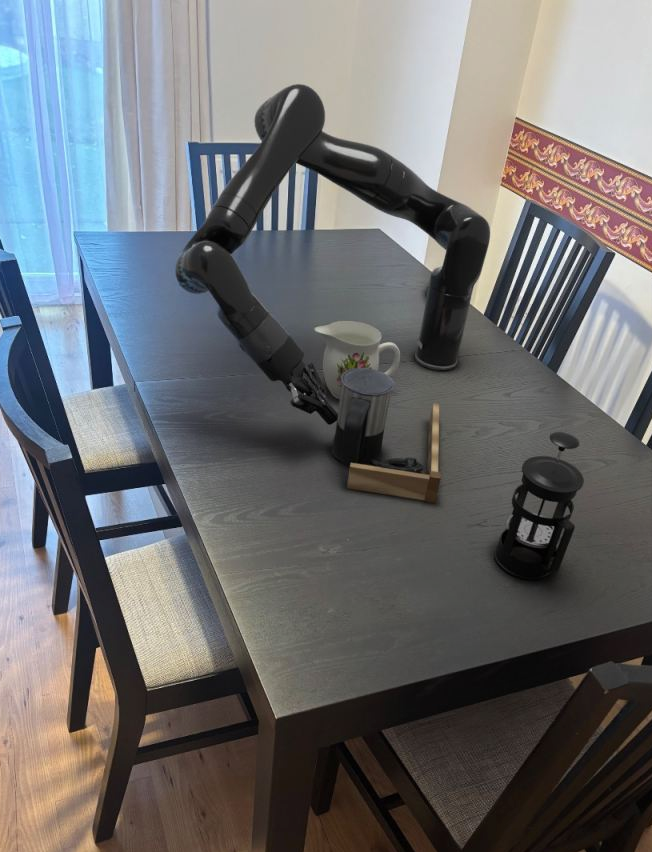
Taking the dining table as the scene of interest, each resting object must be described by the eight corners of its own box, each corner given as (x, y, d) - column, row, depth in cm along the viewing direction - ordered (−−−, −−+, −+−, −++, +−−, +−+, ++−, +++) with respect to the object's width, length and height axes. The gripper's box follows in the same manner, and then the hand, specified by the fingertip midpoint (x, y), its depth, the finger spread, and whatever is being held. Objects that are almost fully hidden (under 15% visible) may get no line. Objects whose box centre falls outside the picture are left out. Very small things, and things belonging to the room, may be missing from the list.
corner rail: (360, 412, 153) (363, 389, 150) (436, 424, 153) (441, 401, 150) (346, 489, 133) (350, 464, 130) (434, 503, 133) (440, 478, 130)
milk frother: (329, 436, 145) (338, 365, 136) (413, 442, 147) (427, 371, 138) (334, 482, 134) (344, 407, 125) (424, 487, 136) (441, 414, 127)
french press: (479, 545, 125) (515, 423, 111) (525, 533, 129) (566, 413, 115) (524, 594, 117) (569, 469, 103) (571, 579, 121) (621, 456, 107)
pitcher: (401, 406, 157) (412, 343, 149) (313, 407, 153) (320, 342, 144) (386, 379, 165) (397, 318, 157) (302, 379, 161) (308, 316, 152)
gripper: (261, 341, 138) (322, 412, 146) (246, 376, 128) (312, 450, 135) (293, 318, 135) (354, 392, 143) (280, 352, 125) (347, 429, 132)
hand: (334, 420), depth 139 cm, fingers closed
